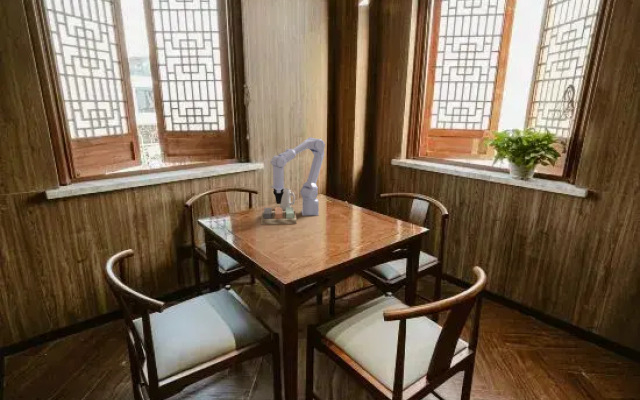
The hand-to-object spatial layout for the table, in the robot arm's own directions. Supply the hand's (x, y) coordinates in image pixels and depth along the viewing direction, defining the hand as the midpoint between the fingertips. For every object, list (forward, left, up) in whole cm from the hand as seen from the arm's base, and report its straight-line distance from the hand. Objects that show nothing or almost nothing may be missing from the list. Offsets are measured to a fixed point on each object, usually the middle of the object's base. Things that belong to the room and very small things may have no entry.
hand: (278, 202), depth 192 cm
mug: (-5, -20, -10) cm, 23 cm away
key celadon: (-6, 0, -9) cm, 10 cm away
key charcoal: (+6, 0, -9) cm, 10 cm away
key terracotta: (0, 0, -9) cm, 9 cm away
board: (0, 0, -10) cm, 10 cm away
